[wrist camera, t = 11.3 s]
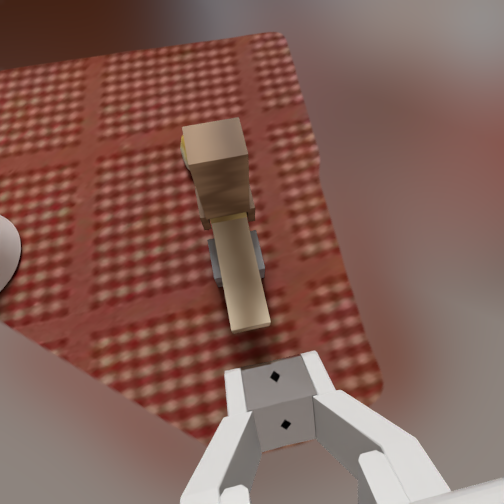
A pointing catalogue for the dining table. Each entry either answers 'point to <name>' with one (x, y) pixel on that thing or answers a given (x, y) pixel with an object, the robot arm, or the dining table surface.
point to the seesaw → (239, 271)
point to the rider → (219, 169)
